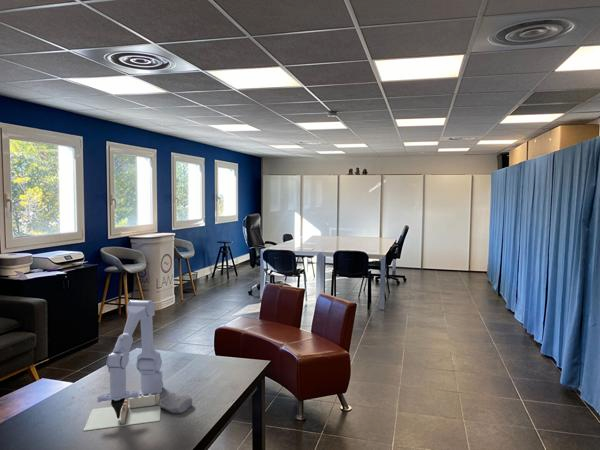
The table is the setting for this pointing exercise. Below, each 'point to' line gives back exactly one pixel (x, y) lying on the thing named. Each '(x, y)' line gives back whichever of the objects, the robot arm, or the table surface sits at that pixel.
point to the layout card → (109, 418)
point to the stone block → (176, 403)
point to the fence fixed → (143, 401)
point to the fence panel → (124, 412)
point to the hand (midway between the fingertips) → (118, 417)
